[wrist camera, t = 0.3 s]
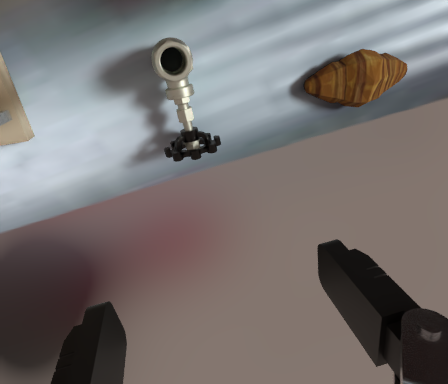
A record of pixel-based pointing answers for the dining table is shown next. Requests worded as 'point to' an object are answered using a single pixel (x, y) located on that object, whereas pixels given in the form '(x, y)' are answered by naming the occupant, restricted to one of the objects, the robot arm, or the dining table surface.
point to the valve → (182, 103)
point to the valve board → (12, 111)
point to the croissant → (356, 78)
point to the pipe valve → (5, 117)
